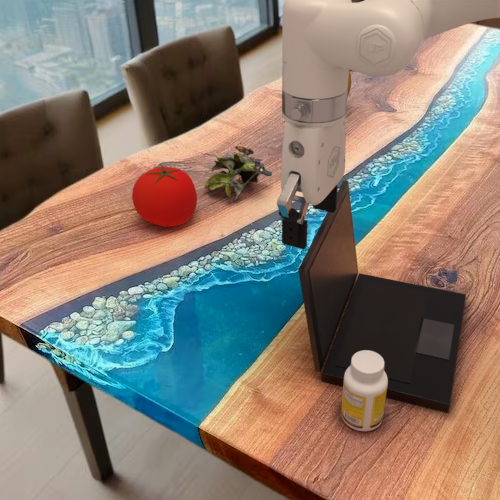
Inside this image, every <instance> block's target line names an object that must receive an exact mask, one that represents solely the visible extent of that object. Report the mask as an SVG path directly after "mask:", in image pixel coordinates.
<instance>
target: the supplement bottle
mask: <svg viewBox="0 0 500 500" xmlns="http://www.w3.org/2000/svg"><path fill="white" fill-rule="evenodd" d="M387 386H388V378H387V375H386V373H385V371H384V360H383V358H382V357H381V356H380V355H379V354H378V353H376V352H373V351H369V350H363V351H359V352H357V353H355V354H354V355H353V357H352V359H351V366H349V367H348V368H347V370H346V372H345V374H344V382H343V386H342V395H341V408H340V409H341V410H340V414H341V418H342V420H343V422H344V423H345V425H346V426H348V427H349V428H351V429H353V430H355V431H359V432H370V431H374V430H376V429H377V428H379V427H380V426H381V424H382V422H383V420H384V414H385V407H386V398H387V397H386V393H387Z"/></svg>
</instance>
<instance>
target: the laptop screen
mask: <svg viewBox="0 0 500 500" xmlns="http://www.w3.org/2000/svg"><path fill="white" fill-rule="evenodd" d="M351 201H352V200H351V194H350V185H349V180H342V183H341V184H340V186H339V188H338V189H337V204H336V210H335V212H334V213H332V212H327V211H326V214H325V216H324V217H323V219H322V222H321V224H320V225H319V227H318V229H317V232H316V233H315V234H314V235H315V236H314V238H313V240H312V242H311V244H310V245H309V247H308V250H307V251H306V253H305V255H304V257H303V259H302V261H301V262H300V265H299V267H298V269H297V271H298V277H299V283H300V289H301V295H302V296H301V297H302V300H303V301H302V303H303V305H304V306H303V307H304V314H305V319H306V324H307V331H308V336H309V342H310V348H311V356H312V360H313V365H314V366H313V367H314V373H321V374H322V371H323V368H324V365H325V363H326V360H327V357H328V355H329V352H330V349H331V347H332V344H333V341H334V339H335V336H336V334H337V331H338V328H339V326H340V323H341V320H342V318H343V315H344V312H345V310H346V307H347V304H348V302H349V299H350V296H351V294H352V291H353V288H354V286H355V283H356V280H357V278H358V275H359V265H358V257H357V247H356V239H355V230H354V220H353V211H352V203H351Z"/></svg>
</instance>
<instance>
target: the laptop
mask: <svg viewBox="0 0 500 500" xmlns="http://www.w3.org/2000/svg"><path fill="white" fill-rule="evenodd" d="M466 296H467V294H466V293H462V292H457V291H456V292H455V291H450V290H447V289H446V290H445V289H440V288H436V287H430V286H426V285H421V284H416V283H410V282H405V281H401V280H396V279H392V278H391V279H390V278H386V277H380V276H375V275H371V274H365V273H360V272H358V275H357V278H356V281H355V283H354V286H353V289H352V291H351V294H350V296H349V299H348V302H347V304H346V307H345V310H344V312H343V315H342V318H341V320H340V323H339V326H338V328H337V331H336V333H335V336H334V339H333V341H332V344H331V347H330V349H329V352H328V355H327V357H326V360H325V363H324V365H323V368H322V371H321V376H320V381H321V382H324V383H328V384H332V385H335V386H340V387H343V382H344V374H345V372H346V370H347V368H348V367H349V366H351V359H352V357H353V355H354V354H355V353H357V352H359V351H363V350H369V351H373V352H376V353H378V354H379V355H380V356H381V357H382V358H383V360H384V371H385V373H386V375H387V378H388V386H387V393H386V398H387V399H391V400H395V401H400V402H403V403H407V404H410V405H411V404H412V405H415V406H419V407H423V408H427V409H431V410H435V411H439V412H443V413H449V410H450V407H451V401H452V393H453V386H454V380H455V373H456V367H457V361H458V359H457V358H458V353H459V346H460V339H461V331H462V324H463V318H464V311H465V305H466V299H467V298H466Z"/></svg>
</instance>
